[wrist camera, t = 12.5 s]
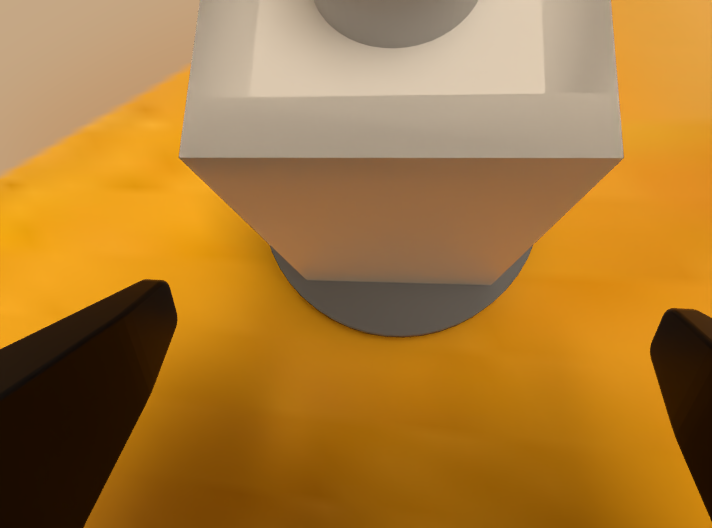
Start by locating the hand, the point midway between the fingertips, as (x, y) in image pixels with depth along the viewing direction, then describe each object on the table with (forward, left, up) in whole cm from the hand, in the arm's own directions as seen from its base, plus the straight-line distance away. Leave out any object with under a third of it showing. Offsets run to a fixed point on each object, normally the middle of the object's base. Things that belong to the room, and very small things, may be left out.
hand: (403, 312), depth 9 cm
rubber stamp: (+3, +4, -8) cm, 9 cm away
